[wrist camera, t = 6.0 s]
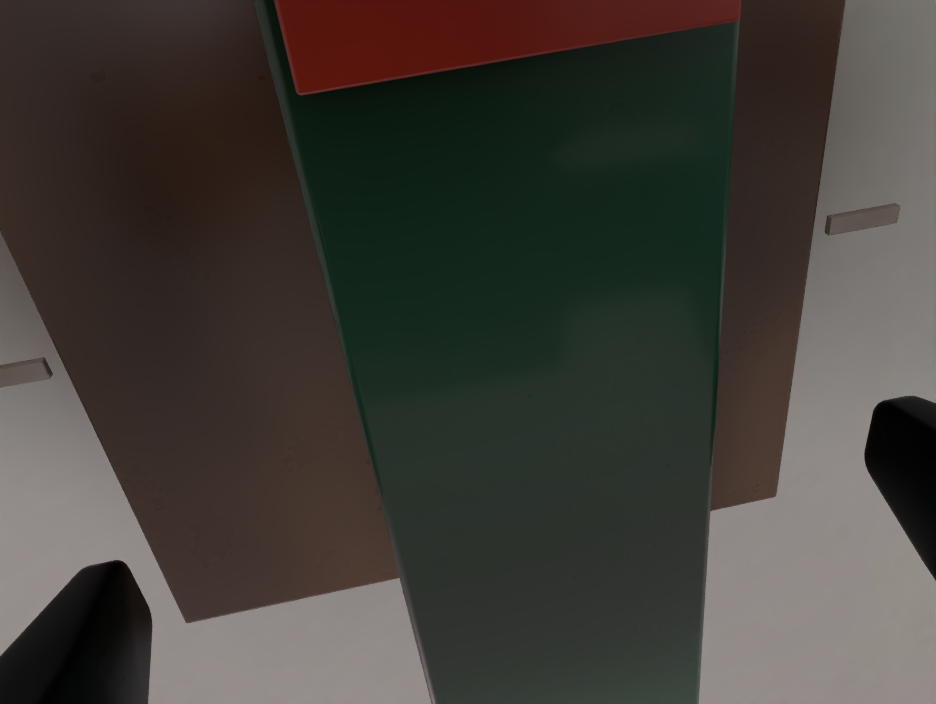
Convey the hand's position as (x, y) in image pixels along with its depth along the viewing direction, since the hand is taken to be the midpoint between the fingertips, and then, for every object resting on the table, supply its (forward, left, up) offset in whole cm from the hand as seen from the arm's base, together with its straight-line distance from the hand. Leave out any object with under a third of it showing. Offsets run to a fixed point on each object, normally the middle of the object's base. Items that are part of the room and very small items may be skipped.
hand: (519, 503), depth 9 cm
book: (0, 0, -6) cm, 6 cm away
